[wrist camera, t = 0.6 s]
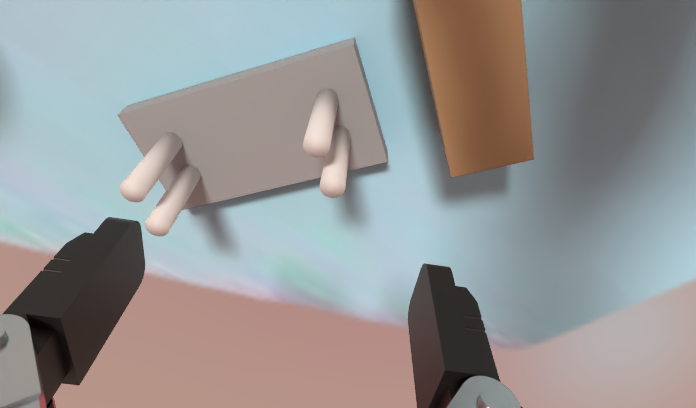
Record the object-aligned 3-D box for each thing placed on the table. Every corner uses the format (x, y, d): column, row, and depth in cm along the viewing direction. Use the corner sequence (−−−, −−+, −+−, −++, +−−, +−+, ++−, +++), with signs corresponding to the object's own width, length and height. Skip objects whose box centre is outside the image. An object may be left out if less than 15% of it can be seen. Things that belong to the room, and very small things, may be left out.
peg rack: (354, 37, 27) (347, 83, 21) (387, 150, 31) (389, 215, 25) (127, 105, 30) (65, 162, 24) (186, 199, 35) (145, 267, 29)
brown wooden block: (482, -121, 22) (511, -122, 17) (507, 113, 29) (533, 159, 24) (393, -90, 23) (398, -82, 18) (439, 130, 30) (451, 177, 25)
